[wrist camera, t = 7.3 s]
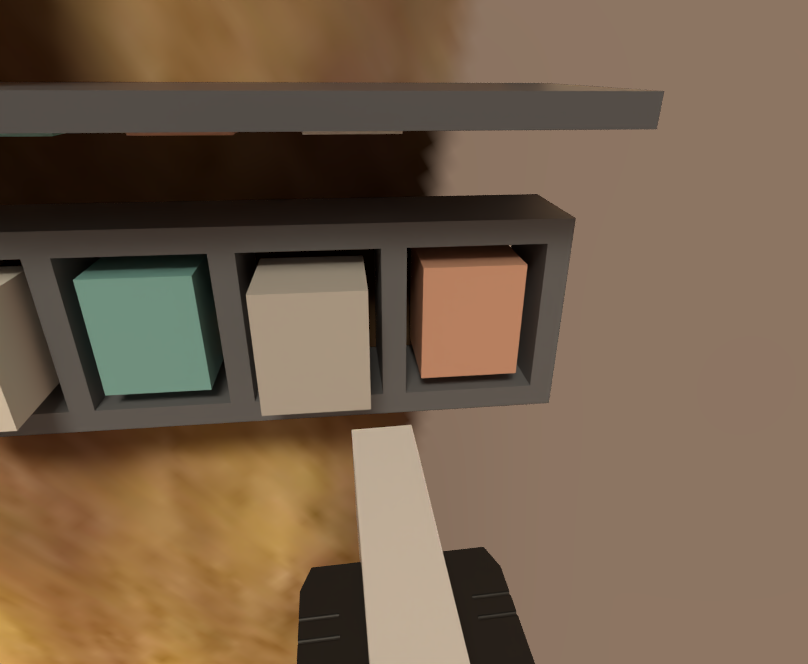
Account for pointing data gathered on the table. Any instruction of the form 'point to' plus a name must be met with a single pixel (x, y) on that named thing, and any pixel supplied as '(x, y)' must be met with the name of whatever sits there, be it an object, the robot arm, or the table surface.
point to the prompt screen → (316, 107)
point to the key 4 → (466, 309)
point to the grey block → (310, 334)
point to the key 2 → (151, 323)
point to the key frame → (232, 274)
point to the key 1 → (21, 352)
